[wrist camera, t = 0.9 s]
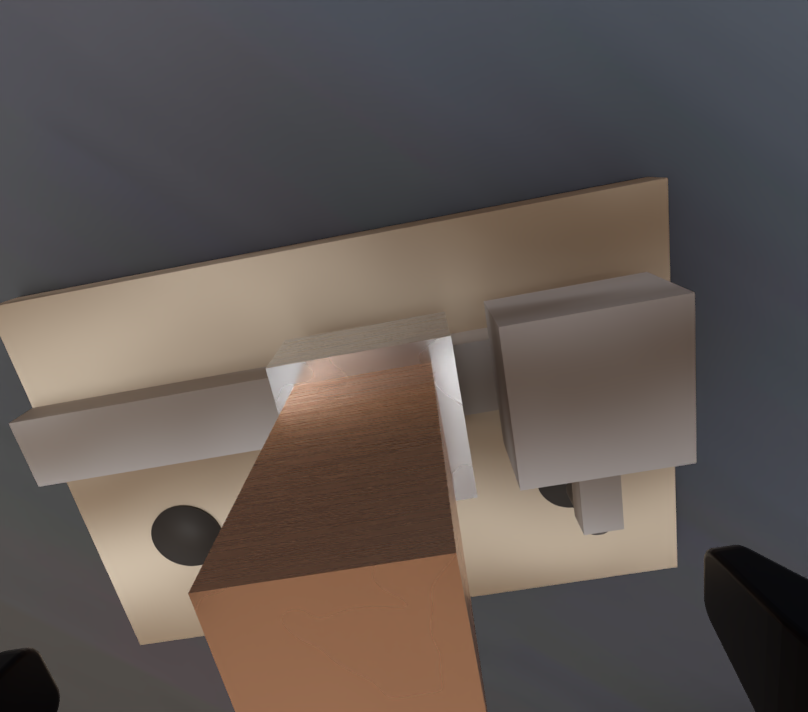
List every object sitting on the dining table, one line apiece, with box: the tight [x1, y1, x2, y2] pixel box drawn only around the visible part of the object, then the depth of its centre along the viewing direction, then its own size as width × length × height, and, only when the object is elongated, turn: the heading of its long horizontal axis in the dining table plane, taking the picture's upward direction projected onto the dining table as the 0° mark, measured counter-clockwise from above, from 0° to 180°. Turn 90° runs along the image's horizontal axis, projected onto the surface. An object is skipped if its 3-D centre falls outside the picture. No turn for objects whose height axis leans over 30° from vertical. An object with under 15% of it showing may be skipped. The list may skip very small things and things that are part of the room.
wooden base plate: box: [0, 177, 697, 645], centre depth 15 cm, size 12×18×4 cm, turn 100°
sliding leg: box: [188, 312, 488, 712], centre depth 11 cm, size 6×4×9 cm, turn 10°
